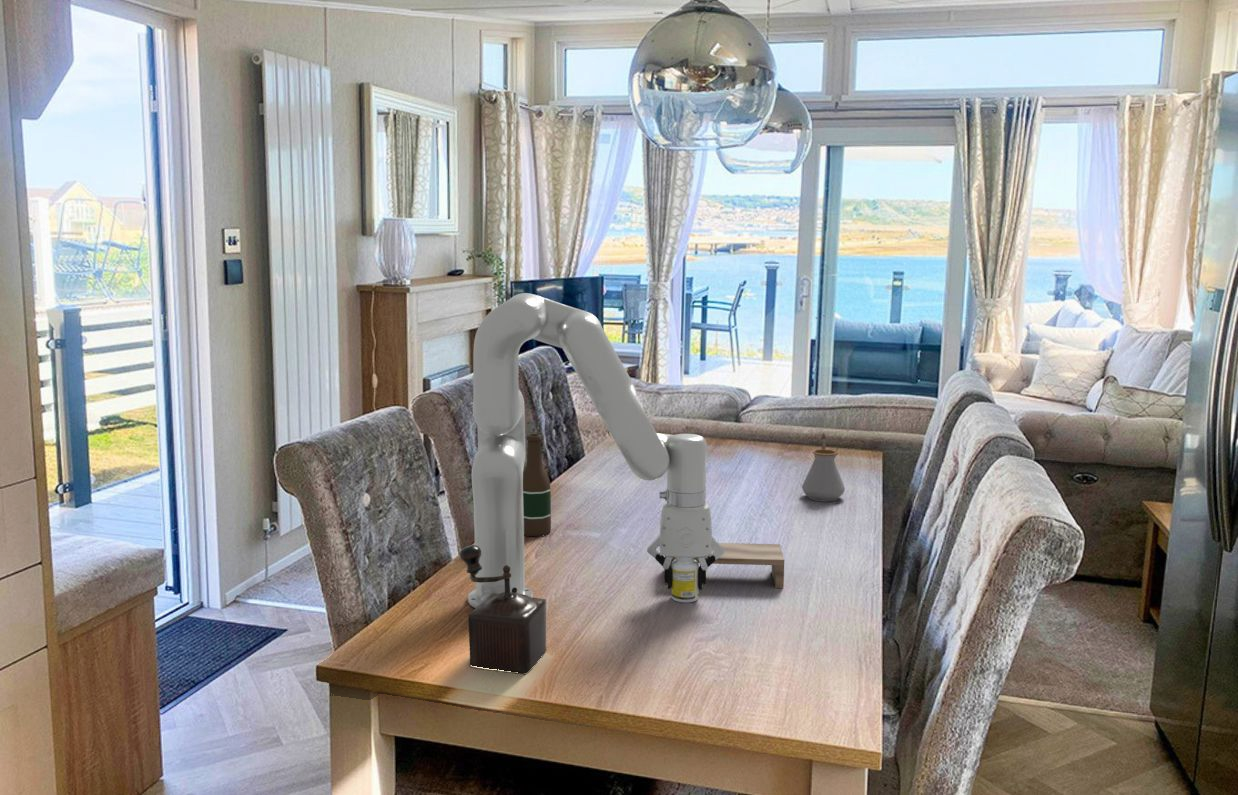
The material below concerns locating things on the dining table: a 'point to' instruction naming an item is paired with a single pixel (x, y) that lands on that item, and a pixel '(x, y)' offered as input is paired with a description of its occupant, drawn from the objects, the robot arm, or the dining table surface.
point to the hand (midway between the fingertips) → (684, 586)
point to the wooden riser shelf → (753, 557)
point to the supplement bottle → (685, 579)
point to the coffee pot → (823, 476)
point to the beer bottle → (536, 491)
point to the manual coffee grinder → (504, 623)
